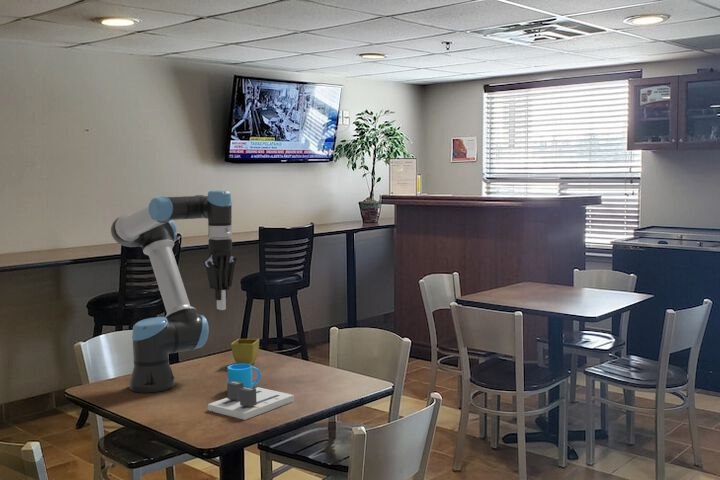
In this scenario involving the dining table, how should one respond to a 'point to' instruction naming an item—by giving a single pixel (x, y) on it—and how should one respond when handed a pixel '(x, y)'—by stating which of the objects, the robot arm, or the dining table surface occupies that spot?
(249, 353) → the flower pot
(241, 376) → the mug
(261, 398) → the console
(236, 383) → the fader
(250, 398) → the fader
